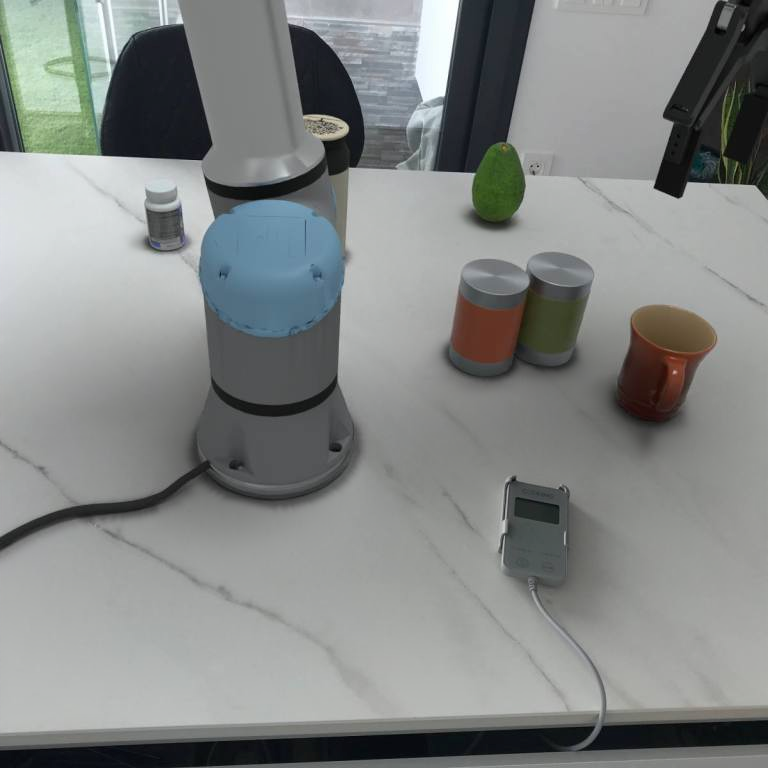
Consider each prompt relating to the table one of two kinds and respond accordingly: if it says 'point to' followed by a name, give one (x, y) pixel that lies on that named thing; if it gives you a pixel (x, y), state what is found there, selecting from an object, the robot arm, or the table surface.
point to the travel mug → (334, 162)
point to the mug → (662, 360)
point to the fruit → (498, 183)
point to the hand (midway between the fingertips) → (703, 175)
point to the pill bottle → (164, 215)
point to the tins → (519, 312)
